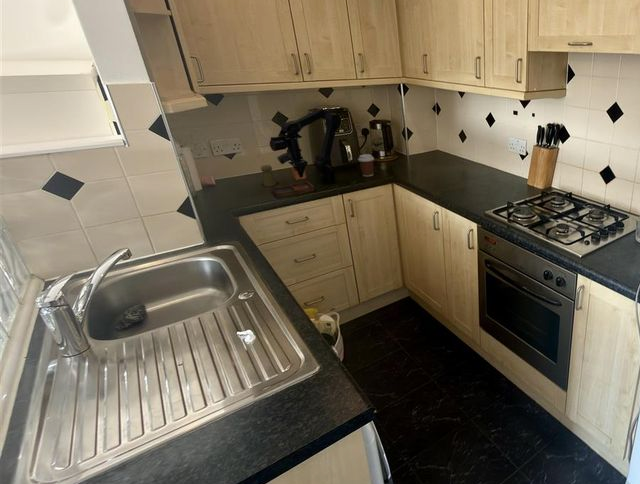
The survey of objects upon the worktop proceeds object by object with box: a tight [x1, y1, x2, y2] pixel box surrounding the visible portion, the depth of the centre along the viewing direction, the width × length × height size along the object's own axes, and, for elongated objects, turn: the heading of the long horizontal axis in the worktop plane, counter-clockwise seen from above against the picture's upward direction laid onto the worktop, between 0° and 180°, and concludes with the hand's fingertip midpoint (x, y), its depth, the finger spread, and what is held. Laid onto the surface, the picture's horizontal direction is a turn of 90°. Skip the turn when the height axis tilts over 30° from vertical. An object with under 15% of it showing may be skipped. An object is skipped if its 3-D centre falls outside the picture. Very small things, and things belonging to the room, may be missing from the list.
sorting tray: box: [271, 180, 316, 199], centre depth 217 cm, size 18×12×2 cm, turn 131°
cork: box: [260, 164, 277, 187], centre depth 225 cm, size 6×6×11 cm
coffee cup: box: [357, 153, 375, 178], centre depth 244 cm, size 9×9×12 cm
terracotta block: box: [291, 168, 307, 181], centre depth 216 cm, size 5×5×5 cm
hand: (299, 176), depth 217 cm, fingers closed on terracotta block, 5 cm apart
